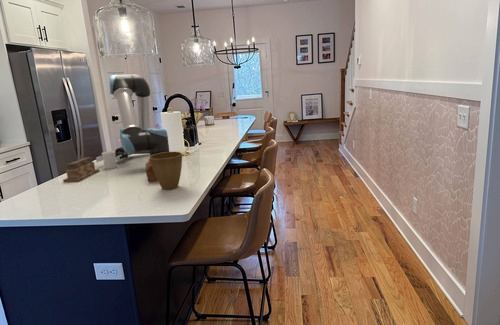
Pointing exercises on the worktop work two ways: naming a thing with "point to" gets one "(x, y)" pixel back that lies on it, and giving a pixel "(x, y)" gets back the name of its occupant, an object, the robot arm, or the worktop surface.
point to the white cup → (109, 159)
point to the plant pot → (167, 168)
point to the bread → (150, 173)
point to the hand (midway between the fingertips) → (106, 159)
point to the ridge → (80, 170)
